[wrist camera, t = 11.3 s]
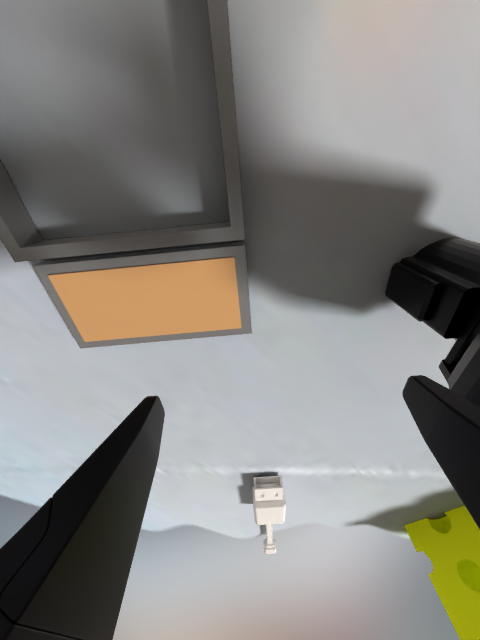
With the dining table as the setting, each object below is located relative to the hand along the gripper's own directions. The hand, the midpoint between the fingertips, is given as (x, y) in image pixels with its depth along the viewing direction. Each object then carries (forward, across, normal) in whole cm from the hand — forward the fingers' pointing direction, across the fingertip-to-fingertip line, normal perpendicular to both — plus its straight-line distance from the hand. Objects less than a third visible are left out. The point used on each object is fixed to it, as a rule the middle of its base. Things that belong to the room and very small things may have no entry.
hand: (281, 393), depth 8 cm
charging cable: (+12, 0, +46) cm, 47 cm away
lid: (+11, +8, +1) cm, 14 cm away
